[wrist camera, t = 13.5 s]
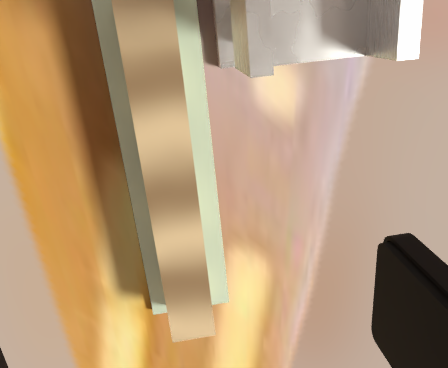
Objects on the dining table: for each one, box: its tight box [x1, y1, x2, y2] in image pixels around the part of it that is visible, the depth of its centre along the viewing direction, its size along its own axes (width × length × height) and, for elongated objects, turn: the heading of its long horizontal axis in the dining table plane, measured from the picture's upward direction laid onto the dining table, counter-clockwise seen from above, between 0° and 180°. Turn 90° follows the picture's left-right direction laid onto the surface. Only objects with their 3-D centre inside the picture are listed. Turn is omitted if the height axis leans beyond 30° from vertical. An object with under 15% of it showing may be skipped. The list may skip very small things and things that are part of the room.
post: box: [212, 0, 423, 78], centre depth 20 cm, size 5×6×13 cm
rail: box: [111, 0, 216, 342], centre depth 26 cm, size 22×3×4 cm, turn 5°
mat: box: [91, 0, 229, 315], centre depth 28 cm, size 23×6×1 cm, turn 5°
